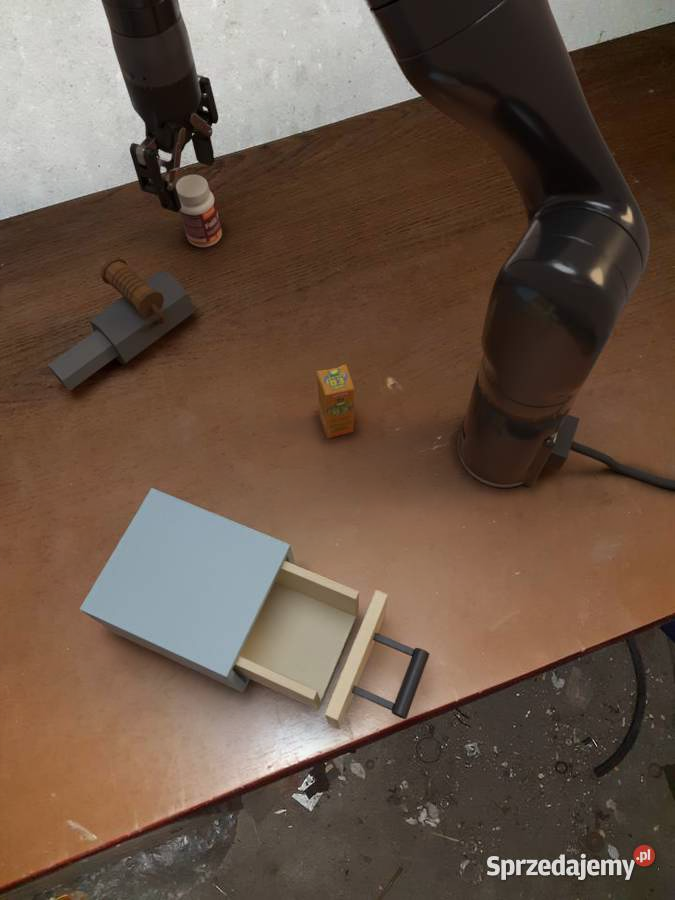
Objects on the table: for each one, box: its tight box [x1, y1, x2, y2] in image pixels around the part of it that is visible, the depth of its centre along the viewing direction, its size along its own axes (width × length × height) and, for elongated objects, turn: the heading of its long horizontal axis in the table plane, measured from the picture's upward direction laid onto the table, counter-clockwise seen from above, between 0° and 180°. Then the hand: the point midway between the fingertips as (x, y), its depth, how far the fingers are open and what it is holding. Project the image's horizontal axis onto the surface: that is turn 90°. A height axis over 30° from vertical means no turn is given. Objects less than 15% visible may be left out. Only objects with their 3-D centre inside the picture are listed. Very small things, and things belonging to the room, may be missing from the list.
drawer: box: [232, 561, 430, 730], centre depth 63 cm, size 19×11×8 cm, turn 67°
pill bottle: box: [175, 174, 223, 248], centre depth 89 cm, size 5×5×8 cm
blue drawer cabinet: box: [79, 487, 296, 694], centre depth 66 cm, size 15×13×10 cm
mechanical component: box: [47, 256, 196, 392], centre depth 80 cm, size 10×18×10 cm, turn 135°
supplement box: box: [315, 363, 355, 439], centre depth 75 cm, size 3×3×10 cm
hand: (190, 185), depth 85 cm, fingers open, 8 cm apart
